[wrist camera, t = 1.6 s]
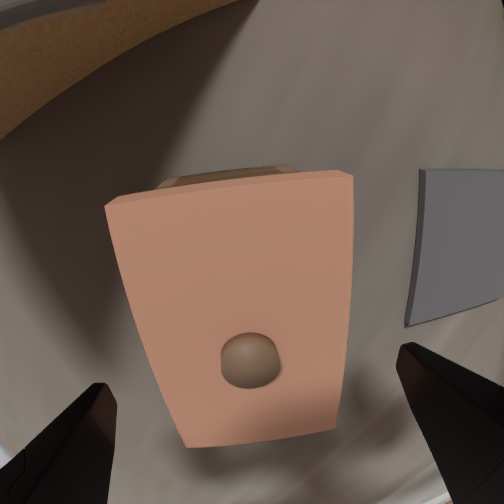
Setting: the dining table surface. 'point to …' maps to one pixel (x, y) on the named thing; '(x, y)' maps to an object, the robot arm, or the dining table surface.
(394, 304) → the dining table surface
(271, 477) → the dining table surface
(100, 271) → the dining table surface
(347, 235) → the lid
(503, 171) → the coaster
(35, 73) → the sandwich container
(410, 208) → the dining table surface
